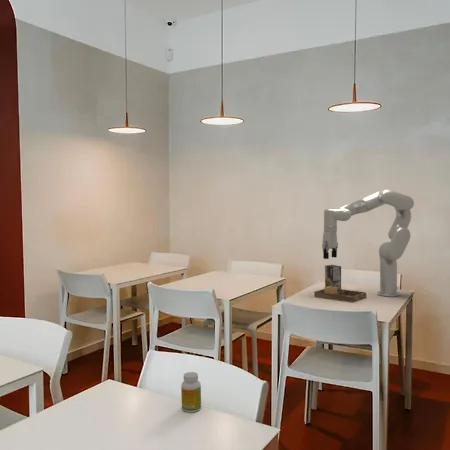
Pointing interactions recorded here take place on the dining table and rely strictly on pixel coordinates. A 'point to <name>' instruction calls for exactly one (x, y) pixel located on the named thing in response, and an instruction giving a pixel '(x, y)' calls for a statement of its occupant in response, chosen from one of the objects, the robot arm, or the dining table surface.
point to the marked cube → (330, 289)
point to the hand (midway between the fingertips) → (330, 258)
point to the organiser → (341, 295)
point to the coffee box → (333, 276)
